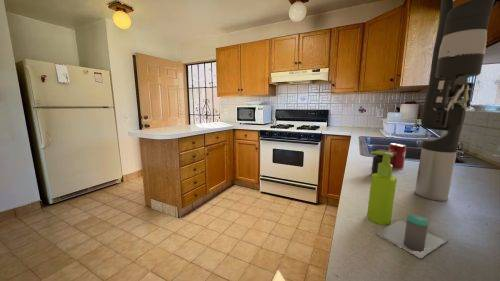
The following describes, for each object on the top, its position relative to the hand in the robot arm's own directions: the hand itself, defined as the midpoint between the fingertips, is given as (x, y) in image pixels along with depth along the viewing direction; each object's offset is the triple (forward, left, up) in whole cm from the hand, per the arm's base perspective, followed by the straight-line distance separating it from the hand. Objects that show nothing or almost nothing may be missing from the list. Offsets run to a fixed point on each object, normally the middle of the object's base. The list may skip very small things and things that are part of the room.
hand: (447, 125), depth 51 cm
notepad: (+8, 0, -28) cm, 29 cm away
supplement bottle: (-30, -31, -28) cm, 52 cm away
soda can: (-50, -35, -28) cm, 67 cm away
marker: (+12, +2, -27) cm, 30 cm away
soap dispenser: (+7, -10, -28) cm, 31 cm away
